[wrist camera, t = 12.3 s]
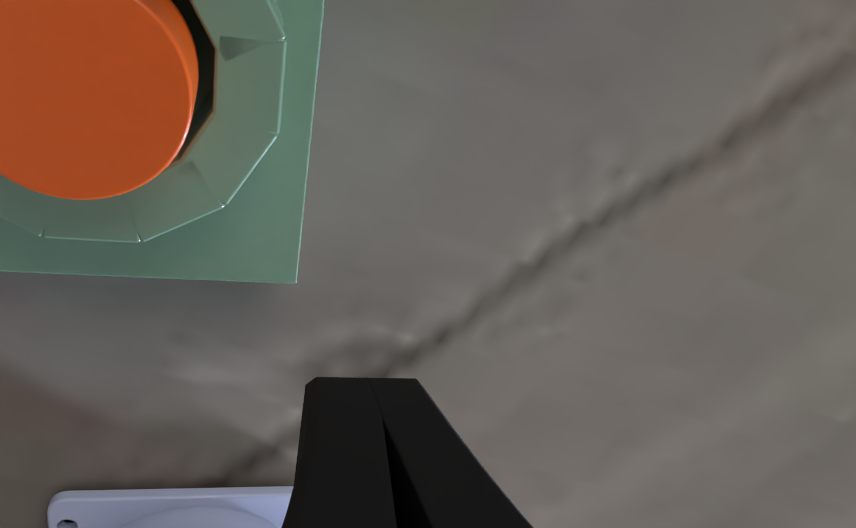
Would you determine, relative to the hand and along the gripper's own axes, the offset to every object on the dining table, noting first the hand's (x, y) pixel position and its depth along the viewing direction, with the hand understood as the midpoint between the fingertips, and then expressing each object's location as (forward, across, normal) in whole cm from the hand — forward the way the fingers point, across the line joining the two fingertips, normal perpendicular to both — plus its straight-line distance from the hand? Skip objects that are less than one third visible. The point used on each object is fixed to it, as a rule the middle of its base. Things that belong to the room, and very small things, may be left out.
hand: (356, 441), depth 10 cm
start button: (+7, +4, -2) cm, 8 cm away
